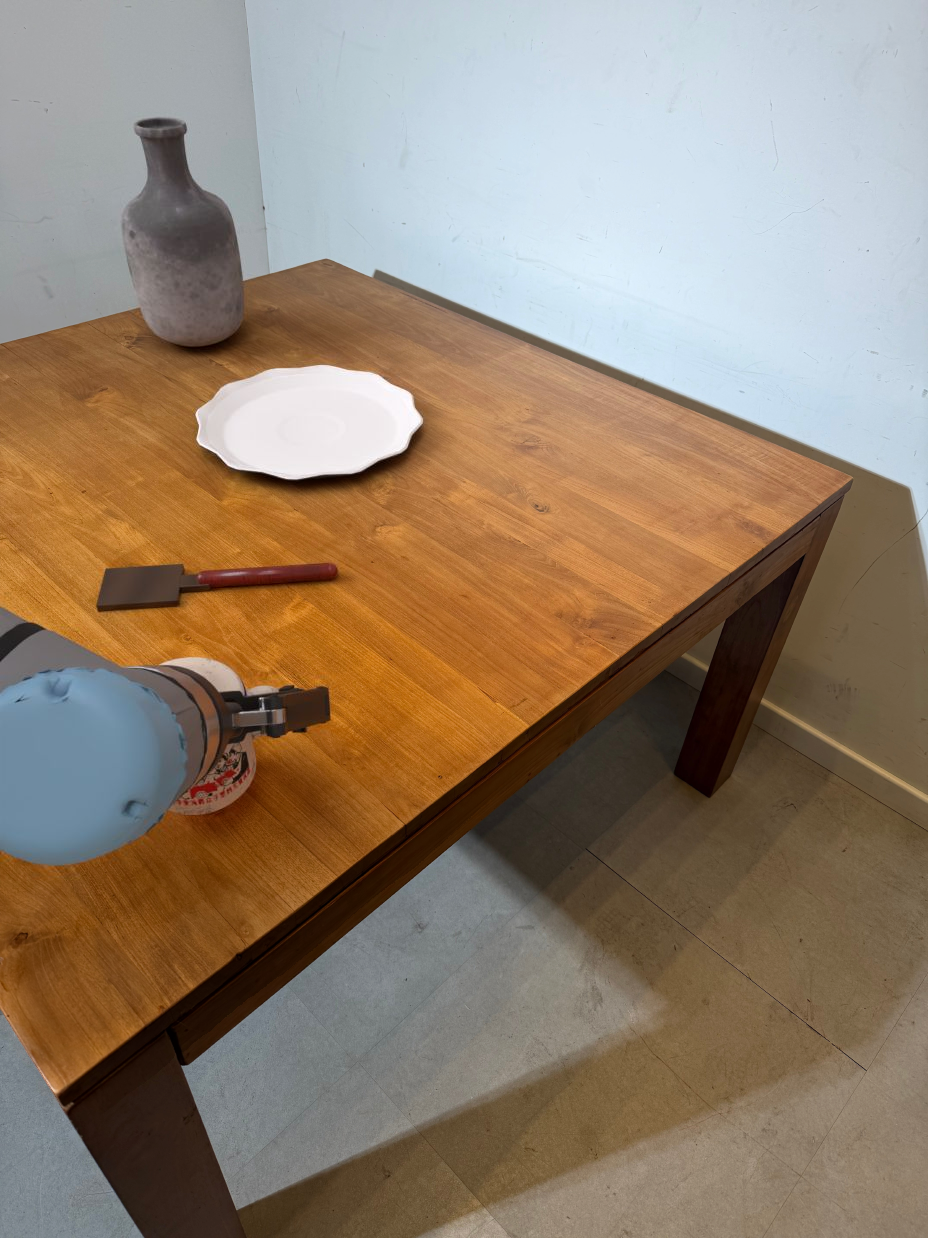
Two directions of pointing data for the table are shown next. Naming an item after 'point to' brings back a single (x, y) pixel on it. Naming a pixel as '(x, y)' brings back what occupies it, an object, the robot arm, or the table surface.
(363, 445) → the plate
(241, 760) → the teacup with lid
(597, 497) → the table surface
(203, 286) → the vase
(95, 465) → the table surface
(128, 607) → the spatula
